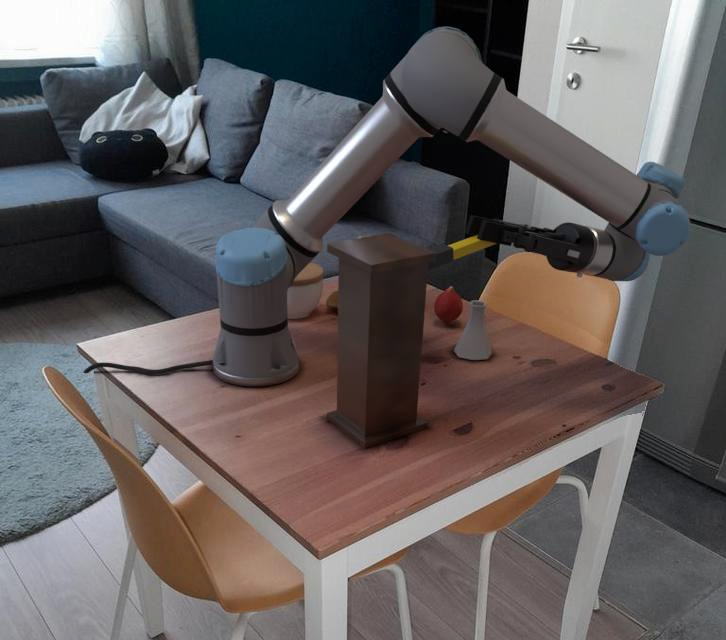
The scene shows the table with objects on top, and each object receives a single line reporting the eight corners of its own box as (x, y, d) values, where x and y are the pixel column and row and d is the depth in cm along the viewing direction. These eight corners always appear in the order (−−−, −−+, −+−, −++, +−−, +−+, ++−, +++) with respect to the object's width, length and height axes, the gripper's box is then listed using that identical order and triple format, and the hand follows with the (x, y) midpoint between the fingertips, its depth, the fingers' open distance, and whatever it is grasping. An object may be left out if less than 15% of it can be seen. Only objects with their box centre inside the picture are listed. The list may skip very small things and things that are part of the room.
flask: (491, 347, 154) (497, 297, 149) (492, 362, 148) (499, 311, 143) (453, 344, 155) (458, 295, 149) (453, 360, 149) (458, 308, 143)
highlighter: (499, 235, 122) (499, 222, 120) (510, 239, 120) (510, 226, 118) (415, 266, 116) (414, 253, 115) (425, 271, 114) (424, 258, 113)
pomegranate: (427, 324, 163) (430, 286, 158) (441, 316, 167) (444, 279, 162) (452, 331, 160) (456, 293, 156) (466, 323, 164) (470, 285, 160)
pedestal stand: (386, 400, 134) (394, 231, 119) (427, 428, 127) (441, 251, 111) (326, 418, 128) (326, 243, 113) (365, 448, 121) (371, 265, 105)
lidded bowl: (336, 313, 166) (336, 261, 160) (289, 329, 159) (288, 274, 153) (297, 297, 174) (296, 247, 168) (250, 311, 166) (248, 258, 160)
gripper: (603, 286, 127) (500, 268, 113) (537, 258, 137) (436, 238, 123) (621, 239, 124) (519, 214, 110) (553, 214, 134) (451, 189, 120)
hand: (475, 227), depth 117 cm, fingers closed on highlighter, 2 cm apart
